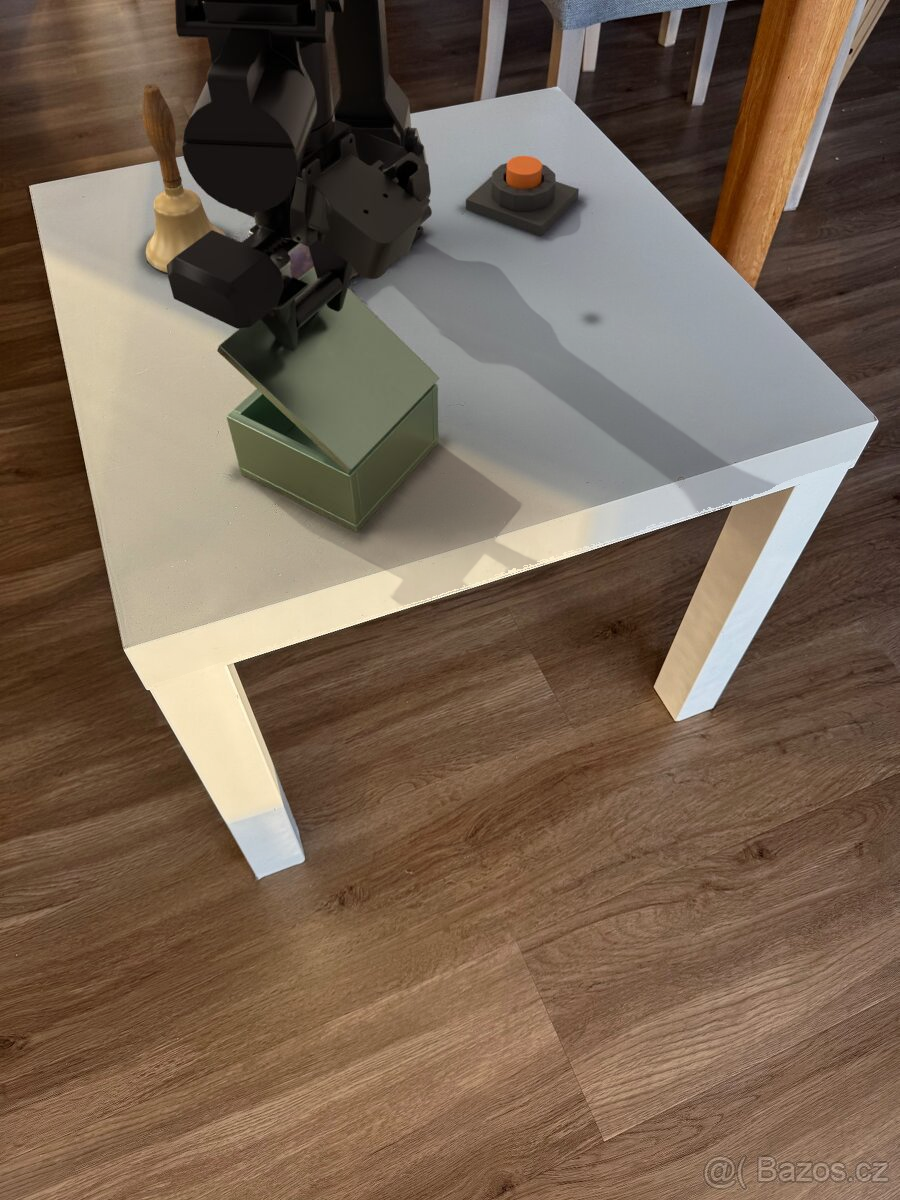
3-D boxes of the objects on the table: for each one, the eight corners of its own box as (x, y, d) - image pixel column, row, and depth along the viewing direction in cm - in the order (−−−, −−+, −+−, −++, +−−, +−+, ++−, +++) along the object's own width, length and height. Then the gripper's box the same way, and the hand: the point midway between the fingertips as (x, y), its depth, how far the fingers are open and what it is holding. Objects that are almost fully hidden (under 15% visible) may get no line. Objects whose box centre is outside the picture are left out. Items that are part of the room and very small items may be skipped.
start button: (499, 184, 97) (500, 167, 96) (517, 168, 99) (518, 151, 97) (530, 194, 96) (531, 178, 94) (547, 178, 98) (548, 161, 96)
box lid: (216, 350, 66) (233, 312, 62) (317, 266, 72) (339, 225, 68) (347, 474, 68) (372, 445, 64) (435, 382, 74) (464, 350, 69)
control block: (465, 209, 99) (465, 182, 96) (504, 174, 103) (505, 147, 100) (540, 236, 96) (543, 209, 94) (577, 199, 100) (581, 172, 98)
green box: (240, 474, 77) (225, 416, 72) (327, 391, 82) (318, 332, 77) (357, 533, 73) (349, 476, 68) (438, 443, 79) (438, 384, 74)
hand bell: (222, 220, 98) (187, 57, 85) (237, 266, 93) (203, 101, 80) (141, 235, 96) (93, 71, 83) (152, 282, 92) (103, 117, 79)
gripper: (293, 237, 48) (322, 453, 61) (486, 85, 57) (476, 300, 70) (132, 168, 52) (191, 386, 64) (338, 34, 61) (355, 248, 73)
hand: (312, 328), depth 68 cm, fingers closed on box lid, 5 cm apart
